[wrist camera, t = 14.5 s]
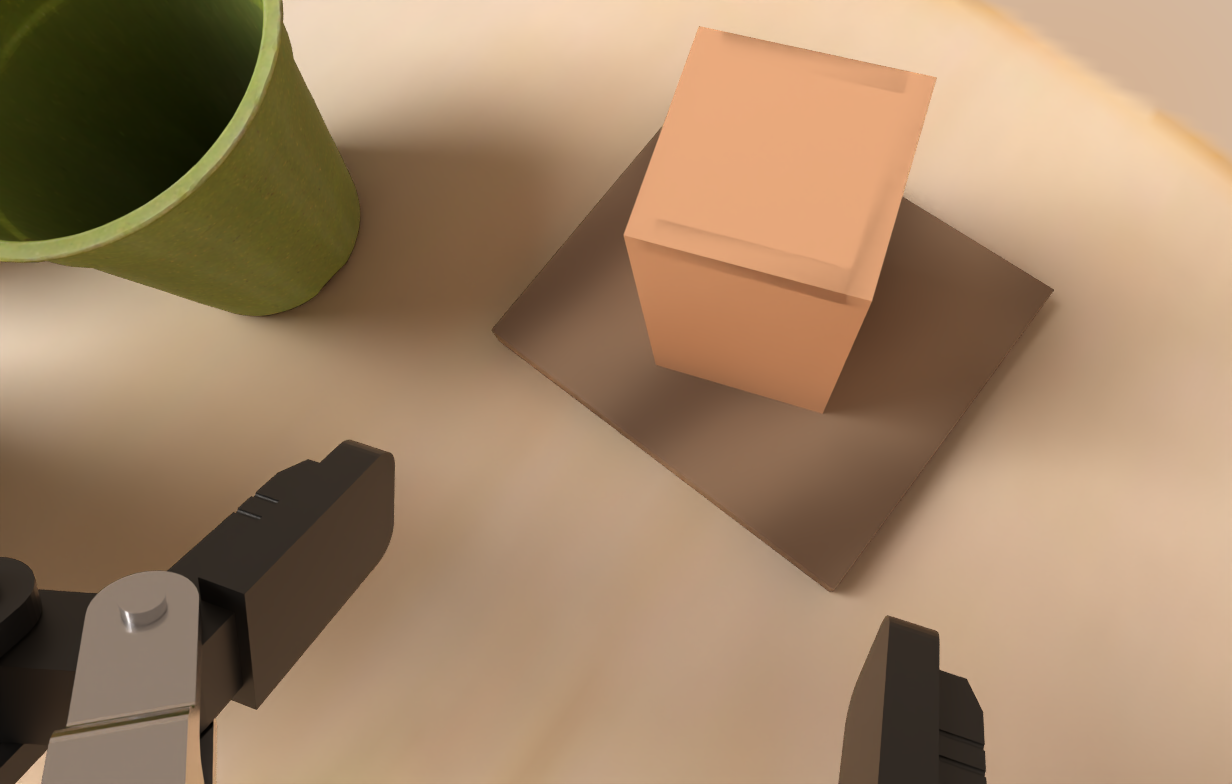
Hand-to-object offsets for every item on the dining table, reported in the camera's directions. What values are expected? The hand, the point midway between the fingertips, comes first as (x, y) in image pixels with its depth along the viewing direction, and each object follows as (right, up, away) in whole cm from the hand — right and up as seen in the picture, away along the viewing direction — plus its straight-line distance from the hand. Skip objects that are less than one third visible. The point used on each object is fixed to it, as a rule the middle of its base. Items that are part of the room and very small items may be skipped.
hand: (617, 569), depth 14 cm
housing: (+5, +6, +16) cm, 17 cm away
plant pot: (-13, +9, +20) cm, 26 cm away
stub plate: (+5, +5, +17) cm, 18 cm away
